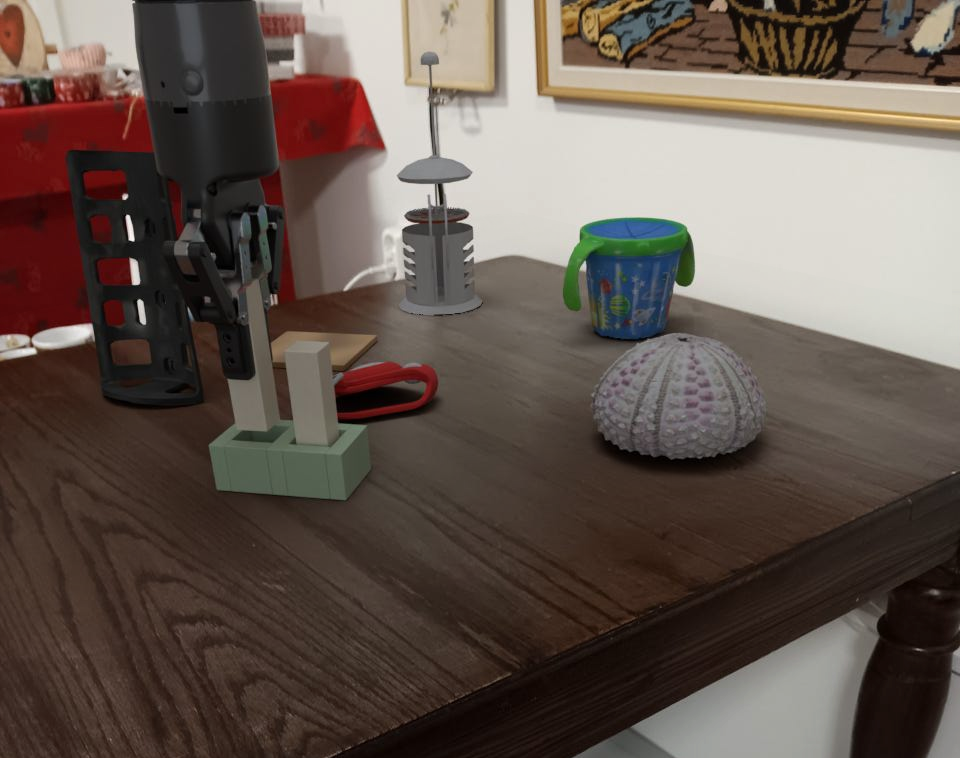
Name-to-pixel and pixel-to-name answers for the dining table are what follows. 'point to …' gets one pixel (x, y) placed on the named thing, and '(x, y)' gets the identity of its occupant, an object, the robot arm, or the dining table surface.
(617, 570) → the dining table surface
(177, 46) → the robot arm
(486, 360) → the dining table surface
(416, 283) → the french press
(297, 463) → the peg rack
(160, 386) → the holder
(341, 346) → the coaster
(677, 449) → the sea urchin shell
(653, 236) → the snack cup
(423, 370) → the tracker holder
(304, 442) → the peg front
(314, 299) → the dining table surface
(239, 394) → the peg back
